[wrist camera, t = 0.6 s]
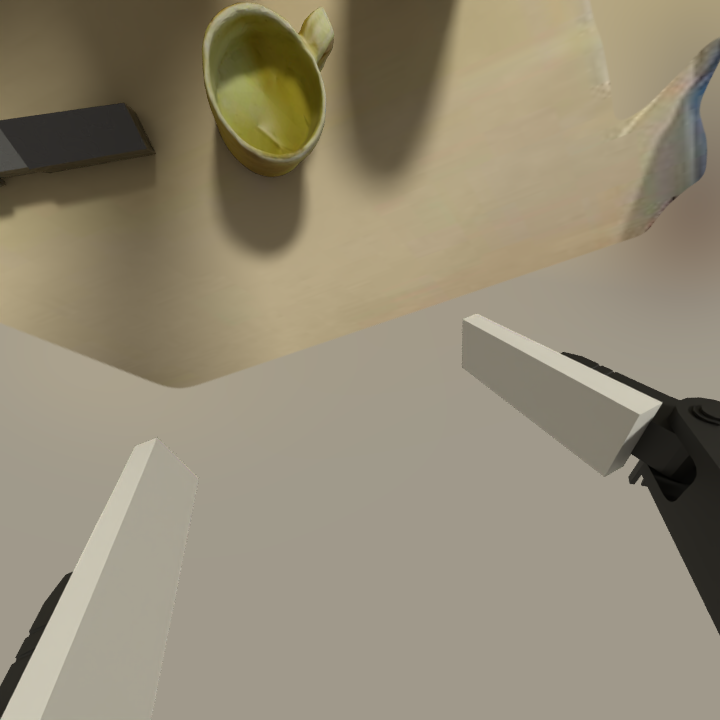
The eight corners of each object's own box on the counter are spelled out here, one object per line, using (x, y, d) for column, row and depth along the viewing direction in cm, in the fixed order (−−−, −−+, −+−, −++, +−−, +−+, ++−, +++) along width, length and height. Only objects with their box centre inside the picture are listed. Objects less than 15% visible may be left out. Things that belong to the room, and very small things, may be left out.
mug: (264, 217, 29) (260, 163, 19) (192, 123, 26) (146, 6, 16) (347, 160, 31) (380, 86, 21) (289, 66, 28) (298, -66, 19)
